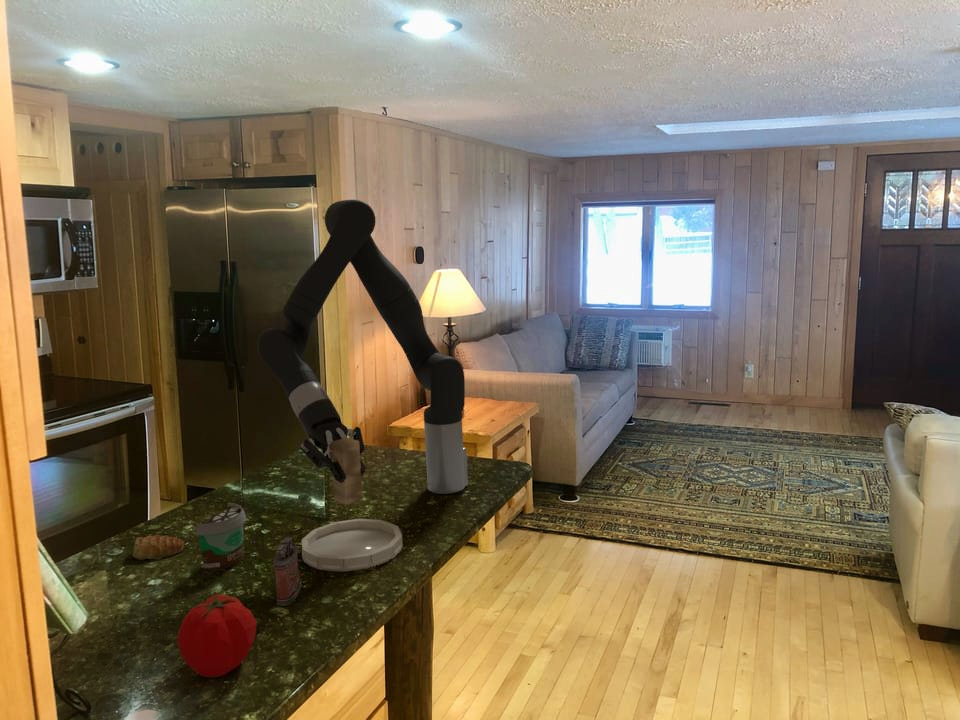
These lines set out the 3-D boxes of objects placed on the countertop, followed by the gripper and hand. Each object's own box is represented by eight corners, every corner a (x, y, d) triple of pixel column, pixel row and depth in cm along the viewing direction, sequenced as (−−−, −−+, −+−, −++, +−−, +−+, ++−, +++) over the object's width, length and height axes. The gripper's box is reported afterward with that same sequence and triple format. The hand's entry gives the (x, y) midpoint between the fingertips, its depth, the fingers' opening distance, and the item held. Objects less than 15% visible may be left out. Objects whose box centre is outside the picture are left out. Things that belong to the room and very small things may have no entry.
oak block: (350, 494, 155) (347, 437, 153) (362, 499, 152) (359, 441, 150) (334, 500, 152) (330, 441, 150) (346, 504, 150) (342, 445, 148)
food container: (230, 576, 144) (224, 526, 143) (200, 574, 145) (195, 525, 144) (261, 549, 156) (256, 502, 154) (233, 548, 157) (228, 501, 156)
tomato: (172, 695, 108) (164, 628, 106) (190, 647, 120) (183, 586, 118) (254, 684, 109) (247, 618, 108) (263, 638, 122) (258, 578, 120)
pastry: (186, 544, 161) (184, 527, 160) (181, 557, 154) (179, 540, 154) (139, 550, 159) (137, 532, 158) (131, 563, 152) (129, 545, 152)
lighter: (285, 584, 140) (281, 532, 138) (304, 583, 140) (299, 532, 138) (272, 605, 132) (267, 551, 131) (292, 605, 132) (287, 550, 130)
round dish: (362, 522, 168) (362, 511, 168) (422, 546, 154) (421, 534, 154) (282, 552, 154) (281, 540, 154) (340, 581, 140) (339, 568, 140)
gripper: (289, 404, 149) (329, 476, 143) (349, 391, 159) (389, 458, 153) (277, 426, 154) (315, 497, 147) (336, 412, 164) (374, 478, 157)
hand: (352, 477), depth 150 cm, fingers closed on oak block, 4 cm apart
